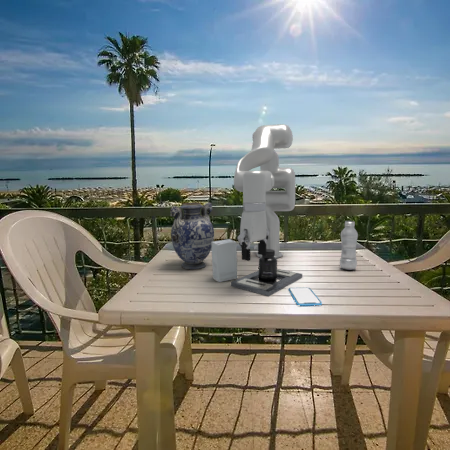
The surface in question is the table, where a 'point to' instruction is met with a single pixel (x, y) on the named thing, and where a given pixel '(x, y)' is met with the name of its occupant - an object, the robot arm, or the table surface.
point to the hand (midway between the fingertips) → (254, 257)
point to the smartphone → (304, 296)
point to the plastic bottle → (348, 246)
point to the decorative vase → (192, 233)
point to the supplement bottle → (268, 267)
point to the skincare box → (224, 260)
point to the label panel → (266, 288)
